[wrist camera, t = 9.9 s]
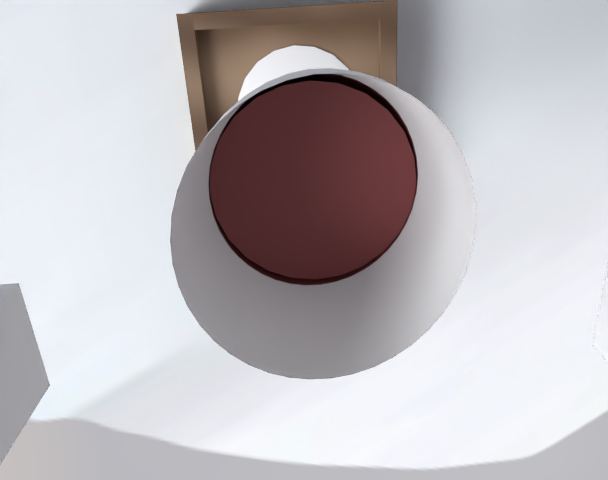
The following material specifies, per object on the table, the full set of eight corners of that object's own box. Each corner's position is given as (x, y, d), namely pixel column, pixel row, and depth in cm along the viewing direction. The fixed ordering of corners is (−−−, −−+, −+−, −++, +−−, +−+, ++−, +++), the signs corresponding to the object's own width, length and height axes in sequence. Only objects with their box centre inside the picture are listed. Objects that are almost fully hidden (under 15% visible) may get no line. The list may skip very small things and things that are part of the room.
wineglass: (382, 52, 36) (526, 114, 15) (345, 191, 40) (417, 397, 19) (248, 19, 35) (196, 36, 14) (223, 165, 38) (152, 355, 17)
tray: (185, 14, 37) (176, 14, 34) (386, 1, 37) (397, 0, 34) (211, 205, 42) (205, 221, 39) (386, 193, 42) (395, 207, 39)
